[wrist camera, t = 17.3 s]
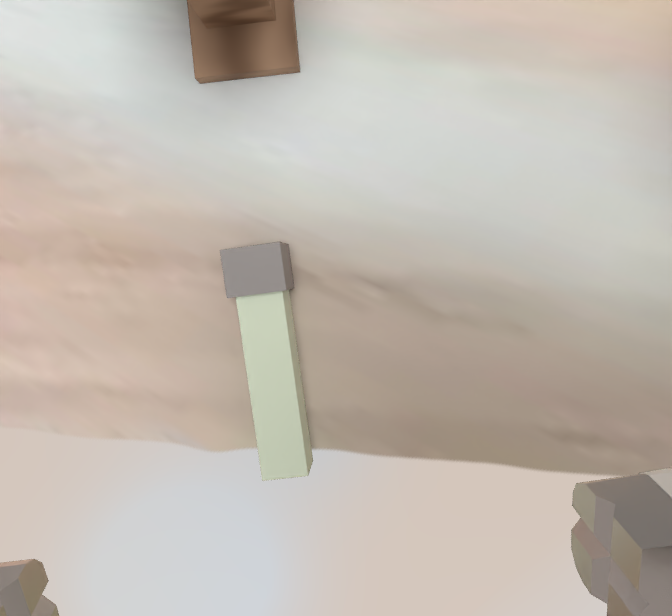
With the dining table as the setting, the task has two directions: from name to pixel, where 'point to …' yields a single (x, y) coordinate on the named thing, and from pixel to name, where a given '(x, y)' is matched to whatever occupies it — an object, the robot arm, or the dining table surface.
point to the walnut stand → (242, 38)
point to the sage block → (270, 355)
